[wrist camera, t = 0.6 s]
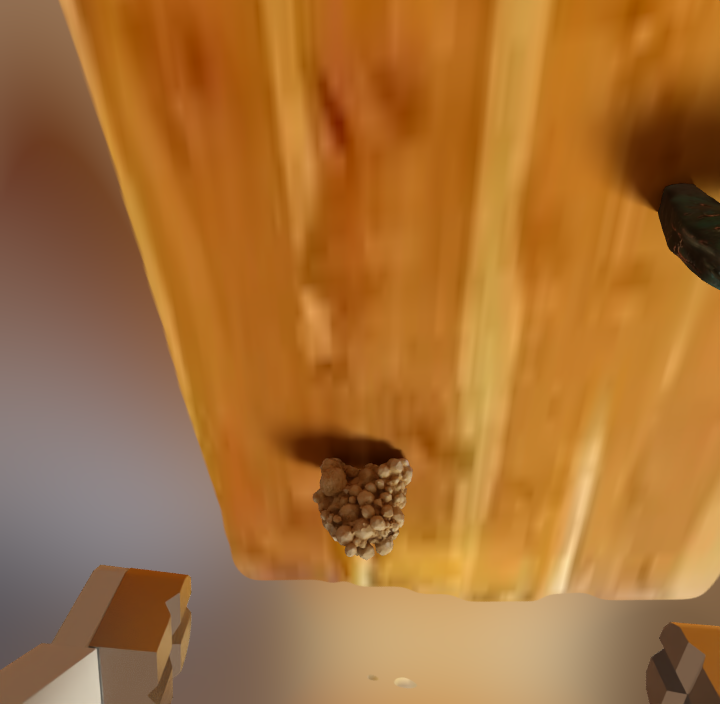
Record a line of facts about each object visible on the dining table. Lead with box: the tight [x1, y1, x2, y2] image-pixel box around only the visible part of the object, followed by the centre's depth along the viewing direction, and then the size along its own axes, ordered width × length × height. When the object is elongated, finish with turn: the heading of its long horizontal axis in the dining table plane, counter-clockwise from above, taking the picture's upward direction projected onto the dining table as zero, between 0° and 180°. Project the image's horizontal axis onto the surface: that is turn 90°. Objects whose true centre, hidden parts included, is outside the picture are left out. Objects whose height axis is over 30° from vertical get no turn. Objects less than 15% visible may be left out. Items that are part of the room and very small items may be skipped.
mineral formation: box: [313, 458, 412, 560], centre depth 80 cm, size 8×13×15 cm, turn 97°
